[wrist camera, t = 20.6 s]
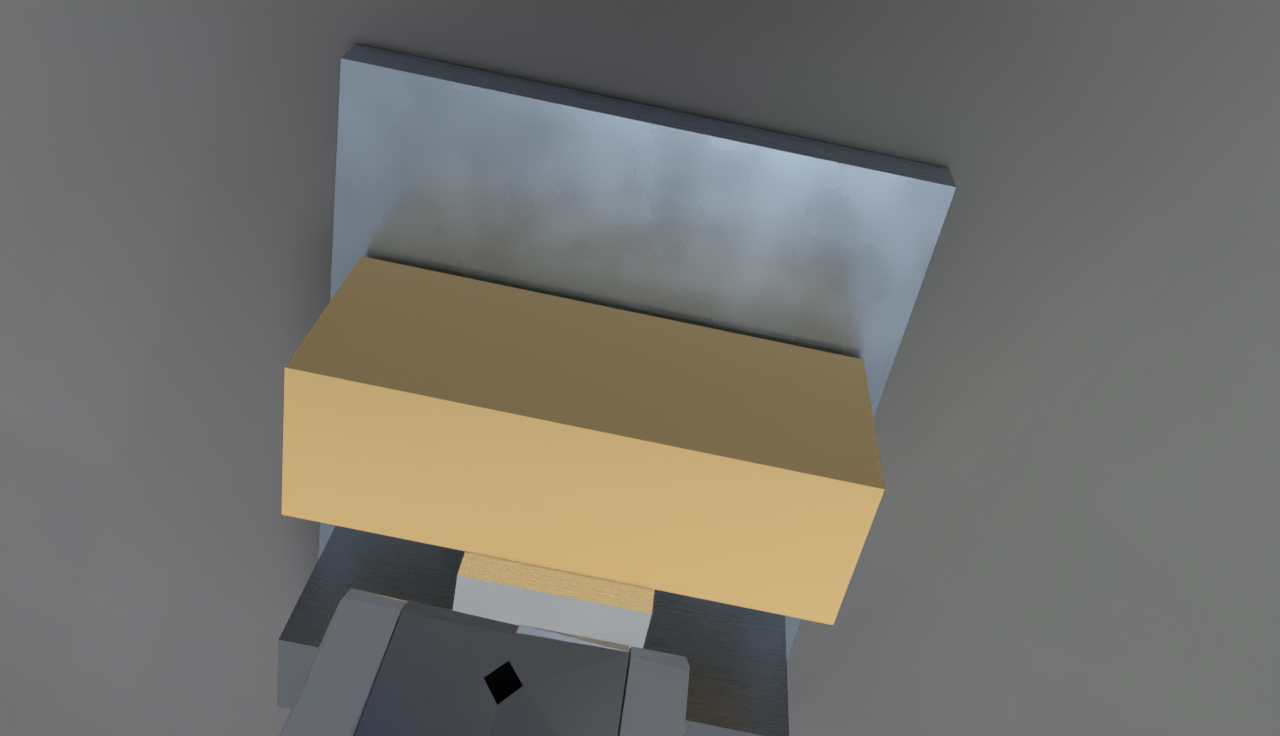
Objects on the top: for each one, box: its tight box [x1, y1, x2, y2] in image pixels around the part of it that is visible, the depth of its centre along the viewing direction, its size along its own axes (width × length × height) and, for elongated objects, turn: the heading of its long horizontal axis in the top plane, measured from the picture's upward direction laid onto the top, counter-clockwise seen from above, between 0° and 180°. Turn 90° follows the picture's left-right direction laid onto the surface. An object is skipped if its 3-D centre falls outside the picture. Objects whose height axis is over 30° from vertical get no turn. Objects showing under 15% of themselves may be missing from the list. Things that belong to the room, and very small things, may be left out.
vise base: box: [277, 44, 956, 736], centre depth 37 cm, size 25×18×8 cm
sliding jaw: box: [282, 256, 885, 625], centre depth 34 cm, size 5×16×7 cm, turn 79°
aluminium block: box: [453, 551, 655, 649], centre depth 36 cm, size 5×6×8 cm
